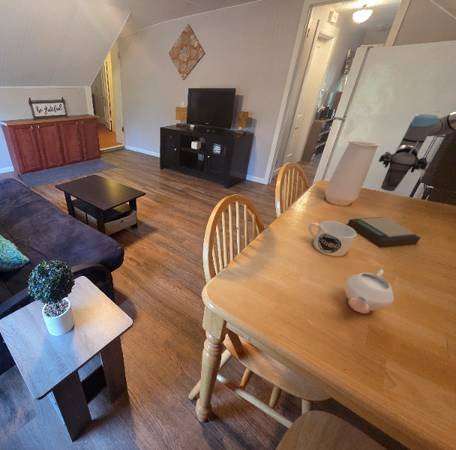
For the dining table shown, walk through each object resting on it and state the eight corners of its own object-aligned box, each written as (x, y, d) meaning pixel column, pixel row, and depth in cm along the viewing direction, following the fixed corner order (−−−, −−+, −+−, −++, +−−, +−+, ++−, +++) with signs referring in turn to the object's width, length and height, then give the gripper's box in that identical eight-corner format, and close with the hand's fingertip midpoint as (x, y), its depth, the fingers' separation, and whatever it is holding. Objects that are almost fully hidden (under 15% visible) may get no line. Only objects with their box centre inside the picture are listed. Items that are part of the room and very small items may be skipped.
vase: (349, 210, 110) (380, 147, 96) (318, 200, 118) (342, 141, 103) (356, 201, 118) (386, 142, 103) (326, 193, 126) (350, 137, 111)
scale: (416, 244, 89) (422, 235, 87) (380, 247, 87) (385, 239, 85) (378, 222, 101) (383, 215, 99) (346, 225, 99) (350, 217, 97)
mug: (346, 245, 88) (356, 226, 83) (346, 261, 80) (357, 241, 76) (305, 233, 94) (312, 215, 90) (301, 247, 87) (308, 228, 83)
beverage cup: (379, 184, 108) (403, 137, 98) (400, 189, 104) (428, 141, 93) (374, 188, 105) (399, 140, 94) (396, 194, 100) (425, 144, 89)
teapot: (391, 298, 67) (409, 273, 62) (367, 340, 57) (387, 314, 52) (351, 279, 74) (365, 255, 69) (323, 313, 63) (337, 288, 58)
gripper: (431, 168, 105) (429, 182, 91) (373, 158, 117) (364, 169, 103) (442, 150, 101) (442, 162, 87) (381, 142, 113) (372, 151, 99)
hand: (400, 166), depth 95 cm, fingers closed on beverage cup, 7 cm apart
